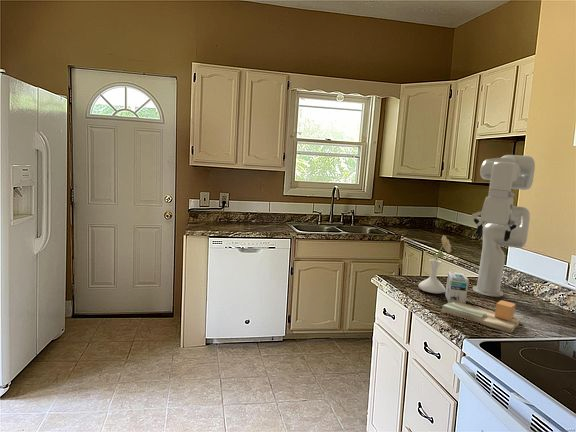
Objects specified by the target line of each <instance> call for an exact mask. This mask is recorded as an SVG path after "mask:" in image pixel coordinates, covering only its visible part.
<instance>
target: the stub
mask: <svg viewBox="0 0 576 432" xmlns="http://www.w3.org/2000/svg"><path fill="white" fill-rule="evenodd" d="M495 305H496V306H495V310H494V312H495V316H494V317H498V318H501V319H505V320H508V321H510V320H511V319H512V318H513V317H515V316H514V315H515V308H516V303H513V302H510V301H506V300H502V299H501V300H499V301H498V302H496V303H495Z"/></svg>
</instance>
